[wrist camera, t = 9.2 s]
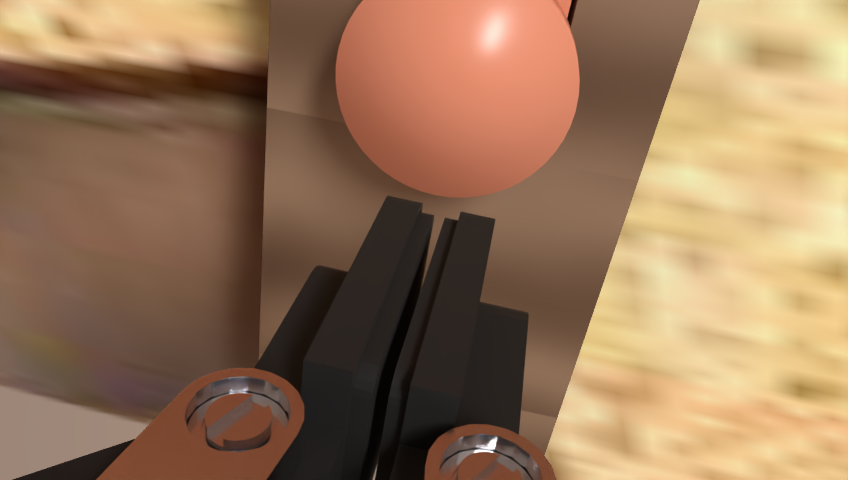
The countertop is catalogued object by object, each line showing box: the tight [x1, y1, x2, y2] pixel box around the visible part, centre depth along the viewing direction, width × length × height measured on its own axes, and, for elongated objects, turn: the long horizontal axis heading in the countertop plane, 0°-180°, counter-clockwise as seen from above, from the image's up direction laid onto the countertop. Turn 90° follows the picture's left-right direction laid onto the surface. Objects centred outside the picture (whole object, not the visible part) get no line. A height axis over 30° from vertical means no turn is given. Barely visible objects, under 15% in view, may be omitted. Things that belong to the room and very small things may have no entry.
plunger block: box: [259, 0, 700, 455], centre depth 28 cm, size 26×12×6 cm, turn 172°
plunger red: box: [336, 0, 580, 198], centre depth 22 cm, size 6×6×7 cm
